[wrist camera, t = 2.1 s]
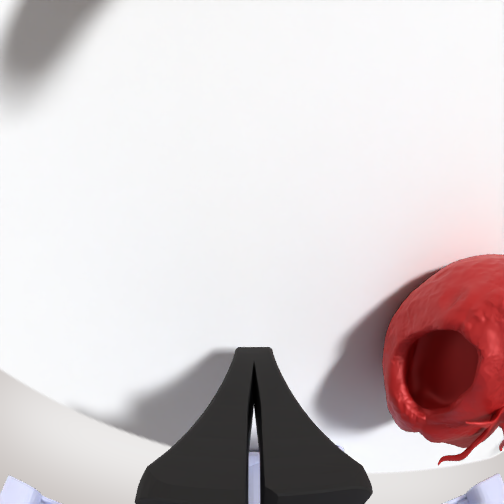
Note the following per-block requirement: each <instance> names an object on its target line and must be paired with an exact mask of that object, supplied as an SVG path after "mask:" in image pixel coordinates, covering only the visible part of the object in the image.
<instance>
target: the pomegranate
mask: <svg viewBox="0 0 504 504" xmlns="http://www.w3.org/2000/svg"><path fill="white" fill-rule="evenodd" d="M383 351H384V352H383V361H382V366H383V375H384V385H385V390H386V399H387V407H388V410H389V412H390V413H391V415H392V417H393V419H394V420H395V422H396V424H397V425H398V426H399V427H400V428H401V429H402V430H404V431H408V432H420V433H421V434H422V435H423V436H424V437H425V438H426V439H427V440H429V441H430V442H434V443H441V442H443V443H447V444H451V445H455V446H458V447H461V448H467V449H466V450H465V451H463V452H462V453H461V454H458V455H448V456H443V457H442V458H441V459H440V460H439V462H438V465H439V464H440V463H441V462H443V461H460V460H463V459H464V458H466V457H467V456H468V455H469V453H470V452H471V451H472V450H473V449H474V448H475V447H476V446H477V445H479V444H480V443H481V442H483V441H485V440H486V439H487V438H488V437H489V436H490V435H491V434H492V433H493V432H494V431H495V430H496V429H497V427H498V426H500V427H501V428H502V430H503V434H504V255H496V254H487V255H479V256H473V257H469V258H466V259H461V260H458V261H456V262H453V263H451V264H449V265H447V266H446V267H444V268H442V269H441V270H439V271H438V272H437V273H435V274H434V275H432V276H431V277H430V278H428V279H427V280H426V281H425V282H424V283H422V284H421V285H420V286H419V287H418V288H416V289H415V290H413V291H412V292H411V293H410V294H409V296H408V297H407V298H406V299H405V300H404V301H403V302H402V304H401V306H400V307H399V309H398V310H397V312H396V313H395V314H394V316H393V318H392V320H391V322H390V324H389V326H388V329H387V332H386V336H385V343H384V348H383ZM503 446H504V440H503V441H502V442H501V444H500V446H499V449H500V451H502V448H503Z"/></svg>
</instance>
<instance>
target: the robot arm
mask: <svg viewBox="0 0 504 504" xmlns="http://www.w3.org/2000/svg"><path fill="white" fill-rule="evenodd" d="M253 408H254V409H255V418H256V426H257V435H258V443H259V452H249V445H250V436H251V427H252V418H253ZM372 492H373V491H372V486H371V483H370V480H369V478H368V476H367V474H366V472H365V470H364V468H363V466H362V465H361V464H359V463H358V462H356V461H355V460H354V459H352V458H351V457H350V456H348V455H347V454H346V453H344V448H343V447H341V446H338V447H337V446H336V445H335V444H334V443H333V442H332V441H331V440H330V439H329V438H328V437H327V436H326V435H325V434H324V433H323V432H322V431H321V430H320V429H319V428H318V427H317V426H316V425H315V424H314V423H313V421H312V420H311V419H310V418H309V417H308V415H307V414H306V413H305V411H304V410H303V409H302V407H301V406H300V405H299V403H298V402H297V400H296V399H295V397H294V396H293V394H292V392H291V391H290V389H289V387H288V386H287V384H286V382H285V380H284V378H283V376H282V374H281V372H280V370H279V368H278V366H277V363H276V361H275V358H274V355H273V351H272V349H271V348H270V347H238V348H237V349H236V350H235V354H234V358H233V361H232V363H231V366H230V368H229V370H228V373H227V375H226V377H225V379H224V381H223V383H222V385H221V386H220V388H219V390H218V391H217V393H216V395H215V396H214V398H213V400H212V401H211V403H210V404H209V406H208V407H207V409H206V410H205V411H204V413H203V414H202V415H201V417H200V418H199V419H198V420H197V422H196V423H195V424H194V425H193V426H192V427H191V429H190V430H189V431H188V432H187V433H186V434H185V435H184V436H183V437H182V438H181V439H180V440H179V441H178V442H177V443H176V444H175V445H174V446H173V447H171V448H170V449H169V450H168V451H167V452H166V453H164V454H163V455H162V456H161V457H159V458H158V459H157V460H155V461H154V462H153V463H152V464H150V465H149V466H148V467H147V468H146V470H145V472H144V474H143V476H142V478H141V480H140V483H139V486H138V490H137V494H136V499H135V503H136V504H364V503H365V502H366V501H367V500H368V499H369V498H370V496H371V495H372ZM0 504H62V503H59V502H57V501H54V500H52V499H49V498H47V497H45V496H42V495H41V494H40V492H38V491H37V490H36V489H35V488H33V487H32V486H30V485H28V484H26V483H24V482H22V481H20V480H18V479H16V478H14V477H12V476H8V478H7V480H6V482H5V484H4V487H3V489H2V491H1V494H0ZM442 504H504V483H503V480H502V478H501V476H500V474H499V473H498V474H495V475H493V476H492V477H490V478H488V479H486V480H484V481H482V482H480V483H478V484H476V485H475V486H473V487H472V488H471V489H470V490H469V491H467V493H466V494H464V495H462V496H459V497H457V498H454V499H452V500H450V501H447V502H445V503H442Z"/></svg>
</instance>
